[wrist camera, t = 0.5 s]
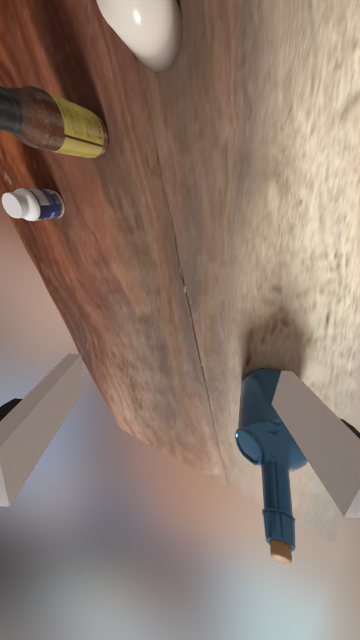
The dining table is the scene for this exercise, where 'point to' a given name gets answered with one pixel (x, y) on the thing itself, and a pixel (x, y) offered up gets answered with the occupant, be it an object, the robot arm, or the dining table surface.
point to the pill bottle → (33, 204)
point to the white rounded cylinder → (147, 29)
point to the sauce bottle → (51, 122)
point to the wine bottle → (270, 457)
